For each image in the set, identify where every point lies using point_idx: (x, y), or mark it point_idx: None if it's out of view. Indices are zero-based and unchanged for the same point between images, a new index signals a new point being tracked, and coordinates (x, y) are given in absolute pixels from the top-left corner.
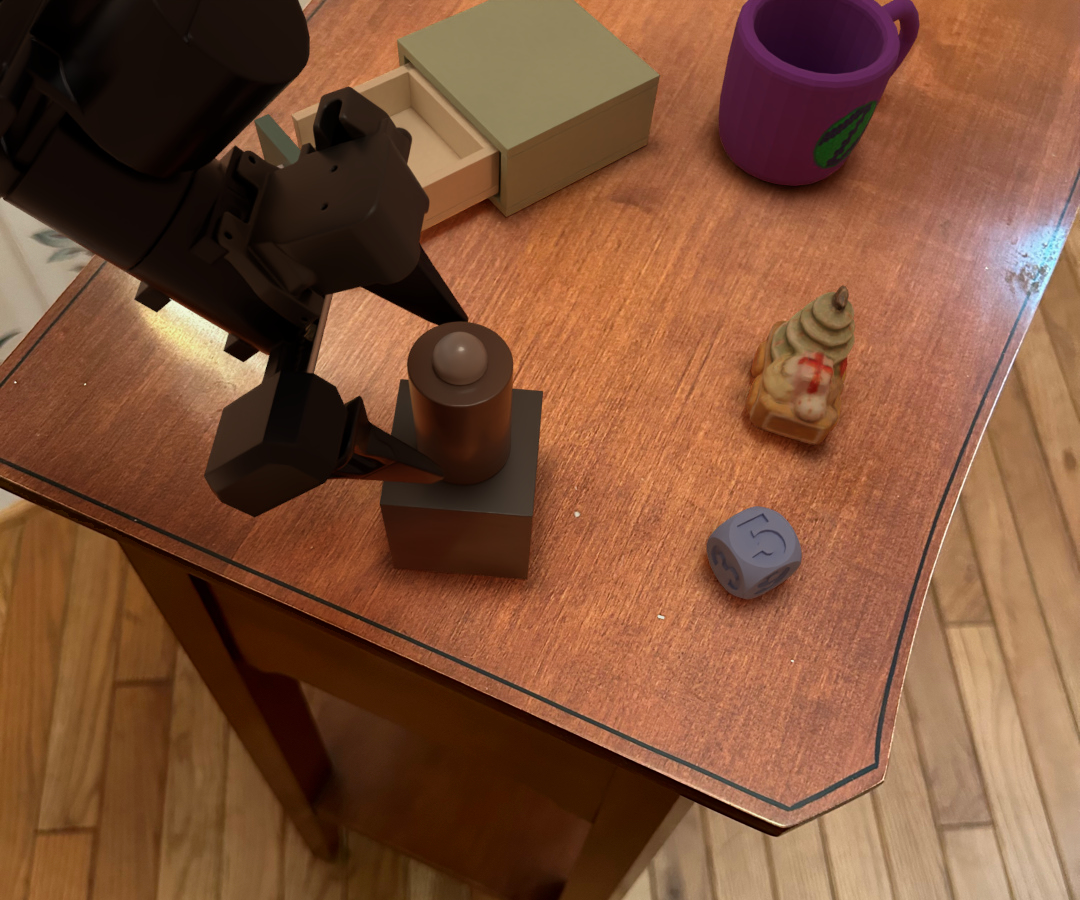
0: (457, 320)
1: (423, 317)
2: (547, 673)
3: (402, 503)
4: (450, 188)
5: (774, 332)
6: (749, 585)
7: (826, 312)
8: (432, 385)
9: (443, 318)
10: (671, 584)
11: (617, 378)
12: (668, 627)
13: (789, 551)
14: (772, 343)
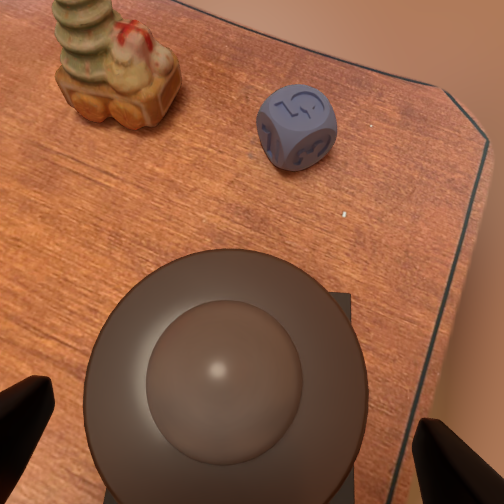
0: (37, 400)
1: (10, 488)
2: (412, 314)
3: (349, 497)
4: None
5: (69, 79)
6: (336, 128)
7: None
8: (304, 459)
9: (26, 434)
10: (312, 204)
11: (83, 236)
12: (353, 209)
13: (311, 89)
14: (85, 76)
